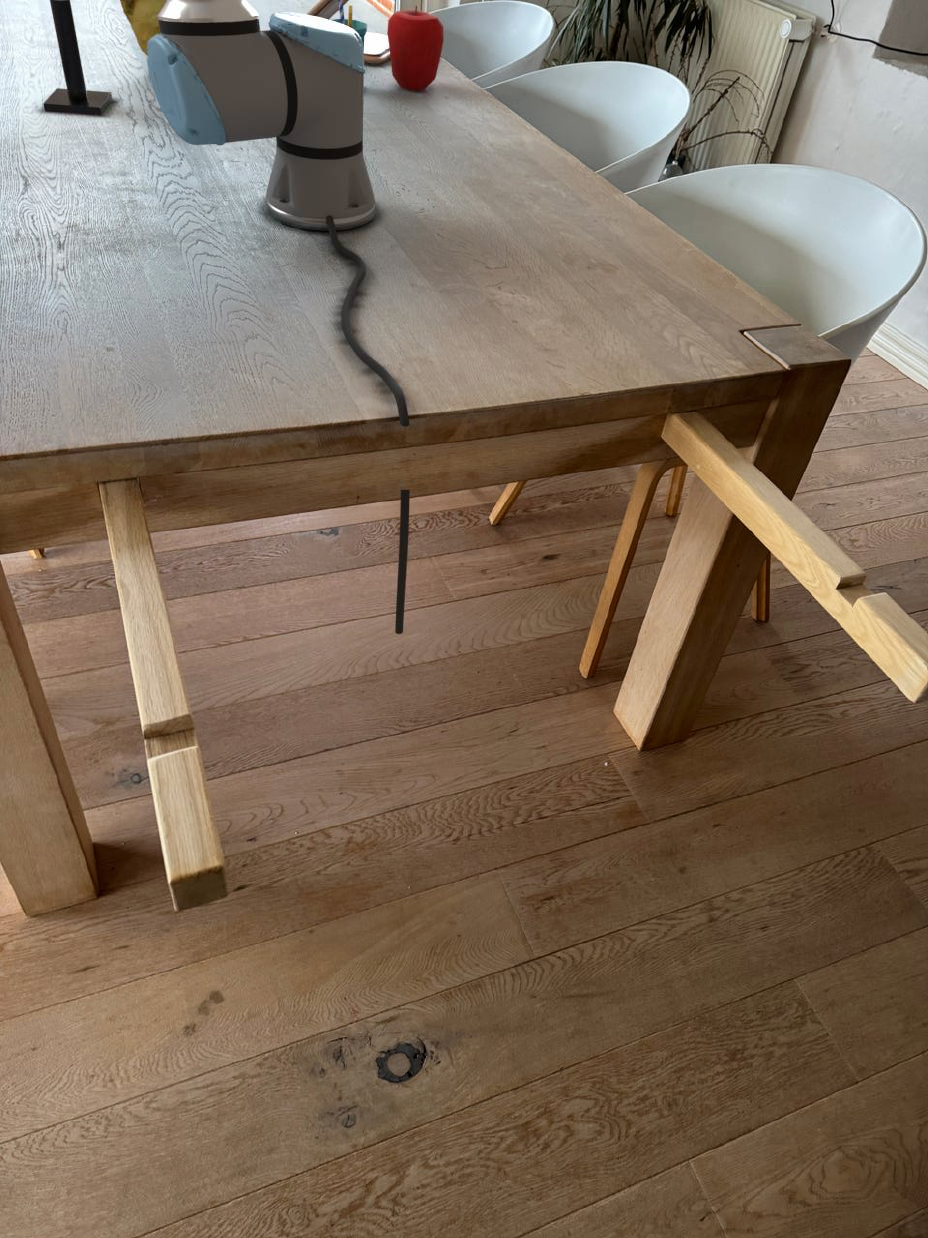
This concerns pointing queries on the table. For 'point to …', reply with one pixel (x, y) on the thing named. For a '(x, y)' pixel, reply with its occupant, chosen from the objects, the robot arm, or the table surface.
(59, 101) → the peg stand
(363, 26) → the cup
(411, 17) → the apple
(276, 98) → the robot arm
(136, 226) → the table surface
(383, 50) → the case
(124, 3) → the pitcher
